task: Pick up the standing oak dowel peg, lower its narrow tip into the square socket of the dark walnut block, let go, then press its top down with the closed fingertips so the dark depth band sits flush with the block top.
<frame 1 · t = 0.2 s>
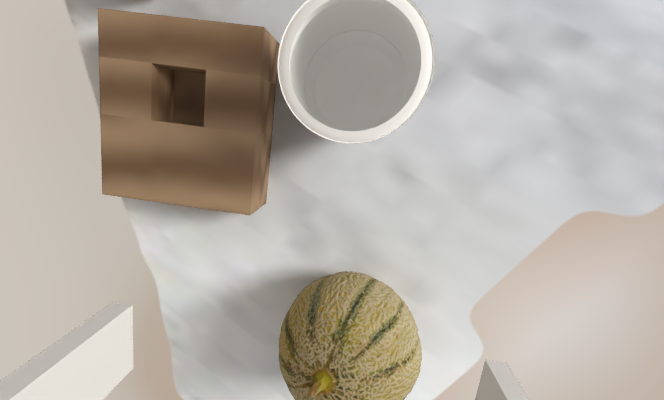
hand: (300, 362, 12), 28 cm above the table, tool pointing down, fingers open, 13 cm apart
board: (205, 118, 38), on the table
jar: (355, 92, 37), on the table
cantaloupe: (350, 306, 42), on the table
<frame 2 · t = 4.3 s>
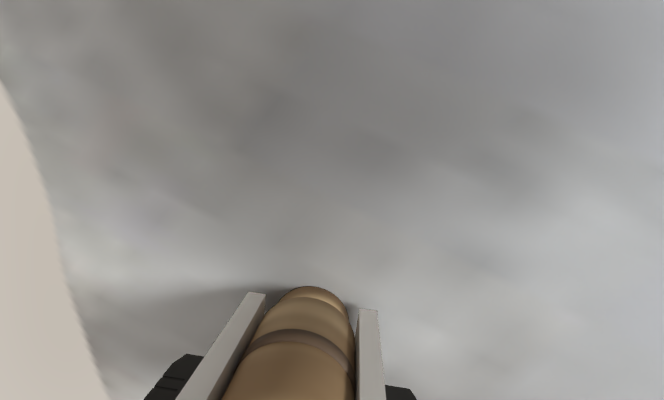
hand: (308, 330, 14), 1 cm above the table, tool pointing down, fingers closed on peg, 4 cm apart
peg: (311, 321, 15), on the table, touching gripper
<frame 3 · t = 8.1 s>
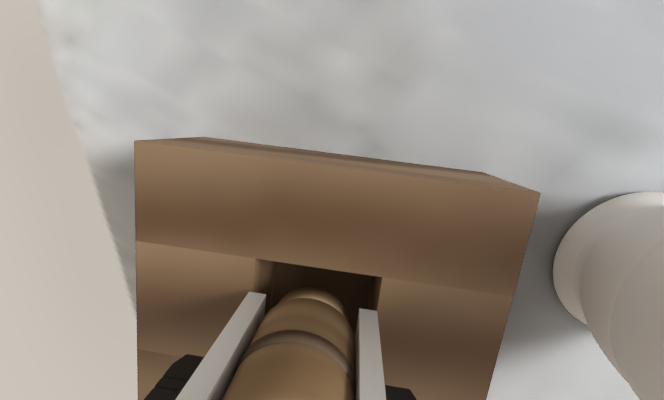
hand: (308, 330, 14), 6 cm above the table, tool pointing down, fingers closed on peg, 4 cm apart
board: (322, 297, 21), on the table
jar: (626, 261, 19), on the table
peg: (310, 322, 15), point 6 cm above the table, touching gripper
when the fingers open (6 cm above the table, at t = 9.7 s): peg drops 4 cm, resting on board.
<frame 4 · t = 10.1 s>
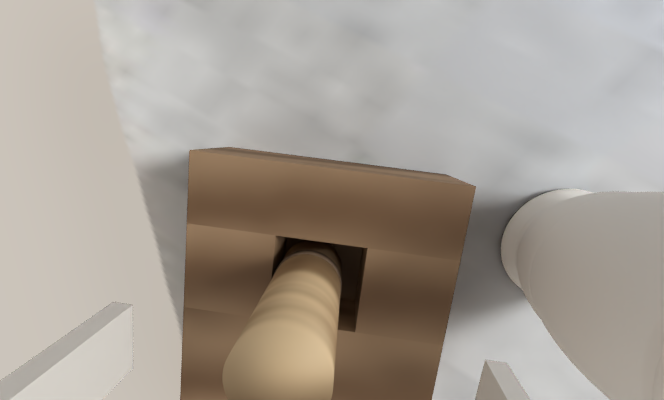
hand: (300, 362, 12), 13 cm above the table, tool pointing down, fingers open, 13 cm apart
board: (321, 274, 26), on the table
jar: (556, 243, 24), on the table
peg: (314, 259, 23), point 2 cm above the table, touching board
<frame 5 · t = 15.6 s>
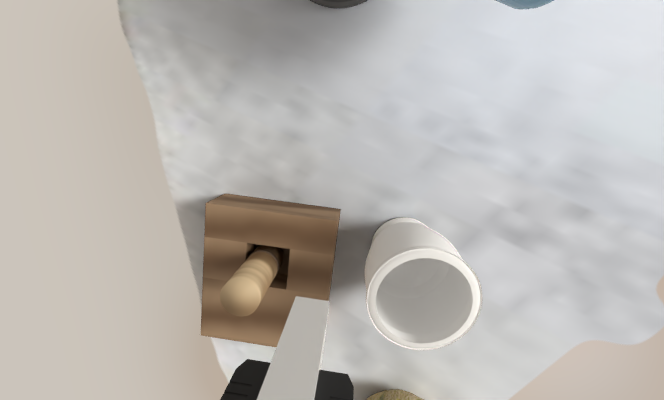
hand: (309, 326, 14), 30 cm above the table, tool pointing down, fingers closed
board: (277, 262, 47), on the table
jar: (402, 245, 45), on the table
peg: (270, 254, 44), point 2 cm above the table, touching board
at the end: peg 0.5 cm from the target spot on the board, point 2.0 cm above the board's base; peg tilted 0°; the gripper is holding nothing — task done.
